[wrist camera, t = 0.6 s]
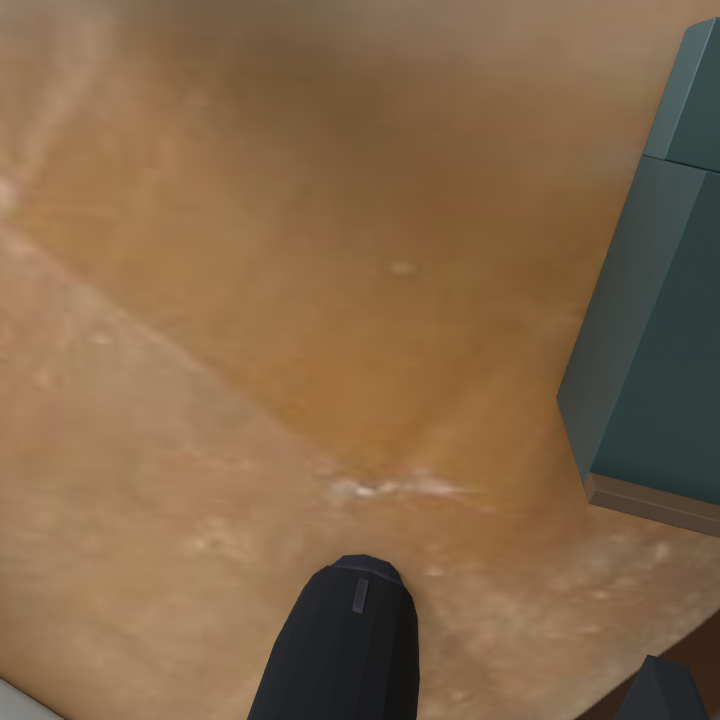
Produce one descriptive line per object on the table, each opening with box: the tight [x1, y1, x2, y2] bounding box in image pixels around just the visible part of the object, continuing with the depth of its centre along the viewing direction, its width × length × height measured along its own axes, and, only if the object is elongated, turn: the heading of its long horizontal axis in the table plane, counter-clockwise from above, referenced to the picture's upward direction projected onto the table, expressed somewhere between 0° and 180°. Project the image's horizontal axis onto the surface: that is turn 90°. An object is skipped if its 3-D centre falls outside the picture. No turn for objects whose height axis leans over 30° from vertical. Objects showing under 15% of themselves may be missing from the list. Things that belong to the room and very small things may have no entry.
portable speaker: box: [247, 555, 420, 720], centre depth 38 cm, size 9×9×20 cm
